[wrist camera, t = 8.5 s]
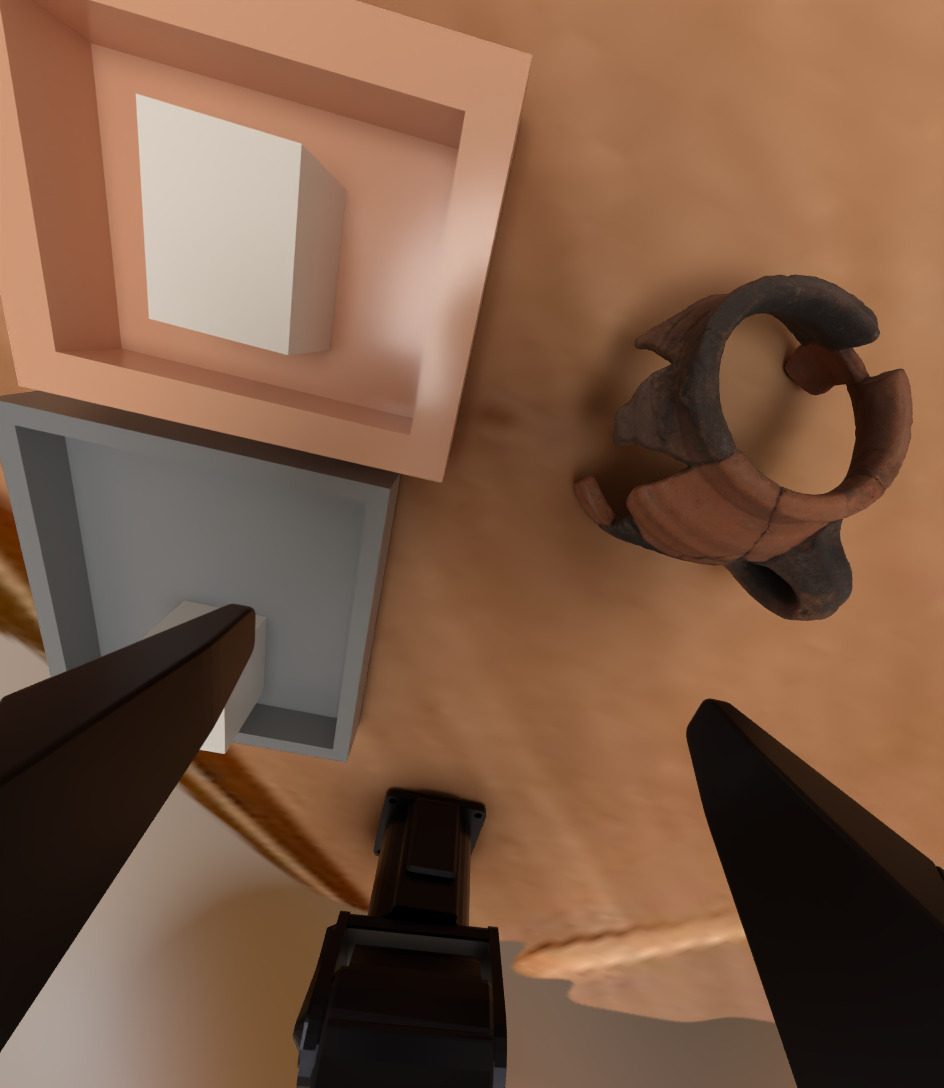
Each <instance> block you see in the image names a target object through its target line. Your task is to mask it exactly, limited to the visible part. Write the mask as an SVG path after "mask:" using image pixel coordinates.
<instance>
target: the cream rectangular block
mask: <svg viewBox="0 0 944 1088" xmlns="http://www.w3.org/2000/svg"><path fill="white" fill-rule="evenodd" d="M136 108H137V125H138V142H139V159H140V176H141V193H142V210H143V227H144V244H145V261H146V278H147V294H148V311H149V319H152V320H156V321H160V322H164V323H167V324H171V325H175V326H179V327H183V328H186V329H190V330H194V331H198V332H202V333H205V334H209V335H213V336H217V337H221V338H224V339H228V340H232V341H236V342H240V343H243V344H247V345H251V346H255V347H259V348H262V349H266V350H270V351H274V352H278V353H281V354H285V355H295V354H303V353H312V352H321V351H330V347H331V337H332V327H333V317H334V308H335V298H336V288H337V278H338V268H339V259H340V249H341V239H342V229H343V219H344V210H345V200H346V189H345V188H344V187H343V186H342V185H341V184H340V183H339V182H338V181H337V180H336V179H335V178H334V177H333V176H332V175H331V174H330V173H329V172H328V171H327V170H326V169H325V168H324V166H323V165H322V164H321V163H320V162H319V161H318V160H317V159H316V158H315V157H314V156H313V155H312V154H311V153H310V152H309V151H308V150H307V149H306V148H305V147H304V146H303V145H302V144H301V143H298V142H294V141H291V140H288V139H284V138H281V137H278V136H274V135H271V134H268V133H265V132H261V131H258V130H255V129H251V128H248V127H245V126H242V125H238V124H235V123H232V122H228V121H225V120H222V119H218V118H215V117H212V116H209V115H205V114H202V113H199V112H195V111H192V110H189V109H186V108H182V107H179V106H176V105H172V104H169V103H166V102H162V101H159V100H156V99H153V98H149V97H146V96H143V95H139V94H136Z"/></svg>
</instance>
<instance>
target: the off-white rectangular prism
mask: <svg viewBox="0 0 944 1088" xmlns="http://www.w3.org/2000/svg"><path fill="white" fill-rule="evenodd" d="M218 608H219V607H214V606H209V605H204V604H199V603H194V602H189V601H183V602H182V603H181V604H180V605H179V606H177V607H176V608H175V609H174V610H173V611H172V612H171V613H170V614H168V615H167V616H166V617H165V618H164V619H163V620H162V621H161V622H160V623H158V624H157V625H156V626H155V627H154V628H153V629H152V630H151V631H149V632H148V633H147V634H146V635H145V636H144V637H143V638H142V639H140V640H143V639H145V638H148V637H150V636H153V635H155V634H157V633H160V632H162V631H165V630H167V629H170V628H172V627H175V626H177V625H179V624H182V623H184V622H187V621H189V620H192V619H194V618H196V617H199V616H201V615H204V614H206V613H209V612H211V611H213V610H216V609H218ZM140 640H139V641H140ZM265 640H266V617H264V616H259V615H256V624H255V645H254V649H253V652H252V655H251V657H250V659H249V661H248V663H247V665H246V667H245V668H244V670H243V672H242V674H241V676H240V678H239V680H238V682H237V684H236V686H235V688H234V690H233V692H232V694H231V696H230V698H229V700H228V702H227V704H226V706H225V707H224V709H223V711H222V713H221V715H220V717H219V719H218V721H217V723H216V724H215V726H214V728H213V730H212V731H211V733H210V734H209V736H208V738H207V739H206V741H205V742H204V744H203V745H202V747H201V748H200V750H206V751H211V752H217V753H223V754H225V753H226V751H227V750H228V748H229V747H230V745H231V743H232V742H233V740H234V738H235V737H236V735H237V734H238V732H239V730H240V729H241V727H242V725H243V724H244V722H245V720H246V719H247V717H248V716H249V714H250V712H251V711H252V709H253V707H254V706H255V704H256V703H257V701H258V699H259V698H260V696H261V694H262V693H263V691H264V666H265Z"/></svg>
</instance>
